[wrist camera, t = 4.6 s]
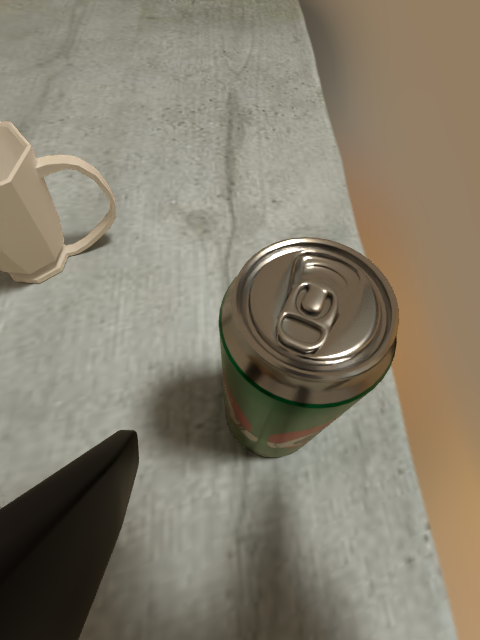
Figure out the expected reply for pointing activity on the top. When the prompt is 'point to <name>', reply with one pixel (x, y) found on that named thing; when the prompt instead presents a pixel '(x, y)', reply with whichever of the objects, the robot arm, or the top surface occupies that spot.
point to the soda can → (302, 341)
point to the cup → (37, 210)
